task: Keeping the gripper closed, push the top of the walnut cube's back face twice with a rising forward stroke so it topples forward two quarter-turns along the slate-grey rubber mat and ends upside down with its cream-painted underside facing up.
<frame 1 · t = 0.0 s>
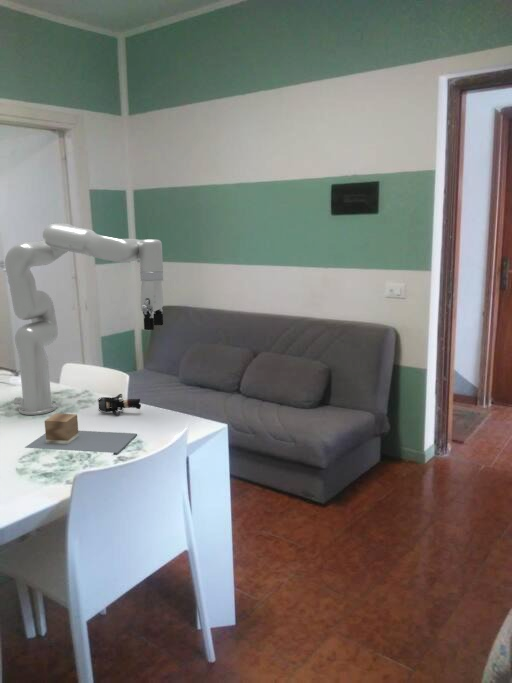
hand: (153, 327, 195), 31 cm above the table, fingers open, 9 cm apart
walnut cube: (62, 439, 177), point 1 cm above the table, touching slate mat
toy: (119, 414, 203), on the table
slate mat: (82, 442, 176), on the table
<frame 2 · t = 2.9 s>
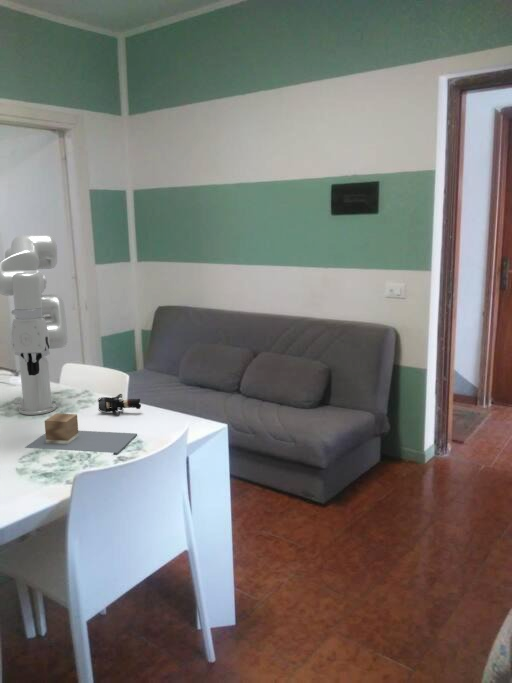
hand: (33, 374, 174), 21 cm above the table, fingers closed
nothing on the table moved.
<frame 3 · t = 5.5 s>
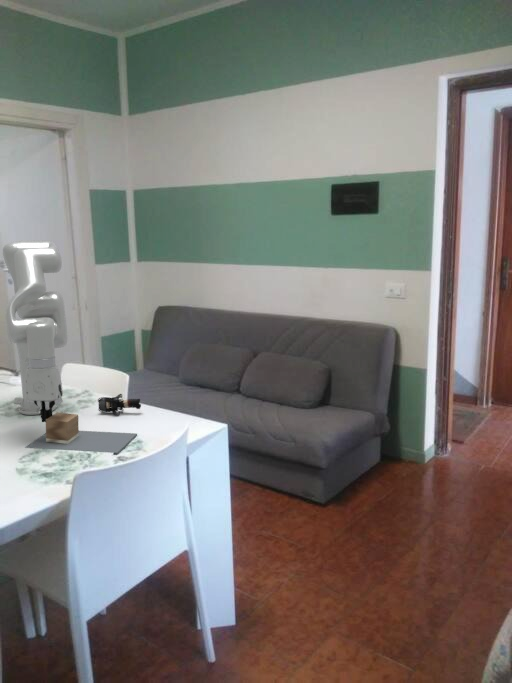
hand: (46, 420, 176), 6 cm above the table, fingers closed
walnut cube: (62, 438, 177), point 1 cm above the table, touching gripper, slate mat
everything else where it was.
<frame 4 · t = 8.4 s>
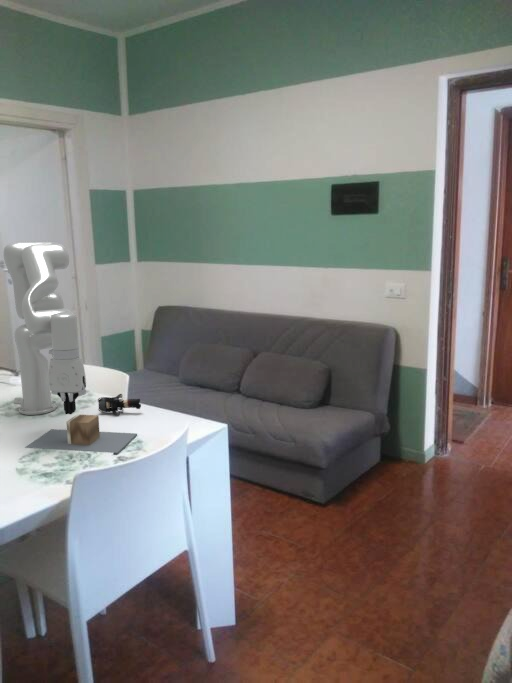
hand: (70, 412, 175), 9 cm above the table, fingers closed
walnut cube: (72, 428, 175), point 4 cm above the table, tilted 90°, touching slate mat
everything else where it was.
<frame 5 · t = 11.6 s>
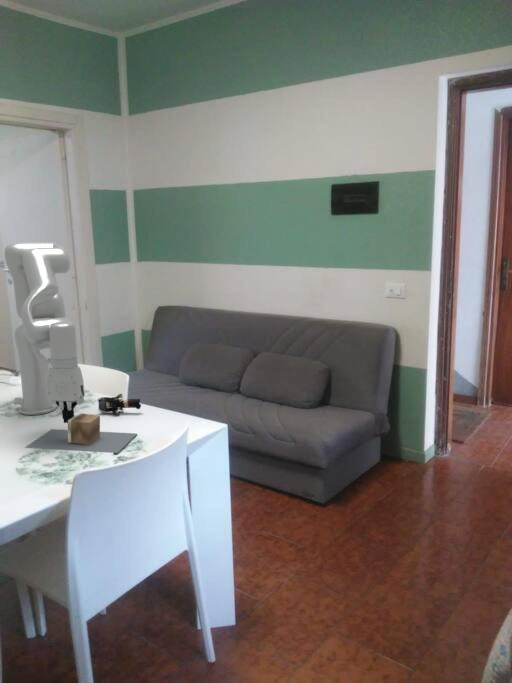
hand: (68, 421, 175), 6 cm above the table, fingers closed
walnut cube: (73, 427, 175), point 5 cm above the table, tilted 94°, touching gripper, slate mat
everything else where it was.
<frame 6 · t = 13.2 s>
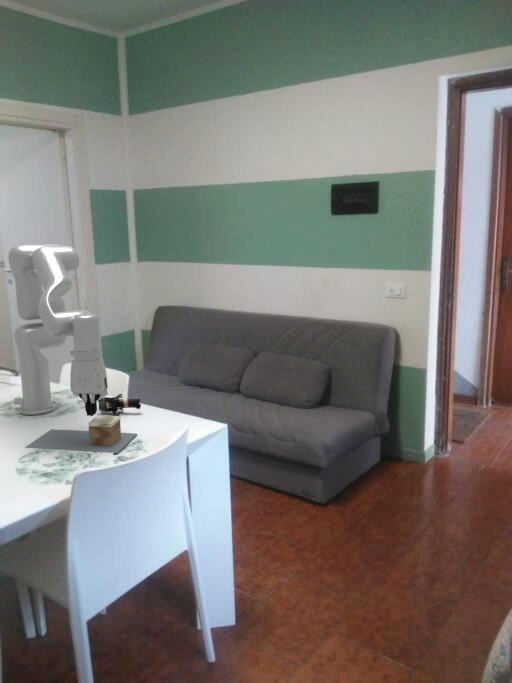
hand: (91, 414, 174), 9 cm above the table, fingers closed
walnut cube: (104, 419, 173), point 8 cm above the table, tilted 180°, touching slate mat
everything else where it was.
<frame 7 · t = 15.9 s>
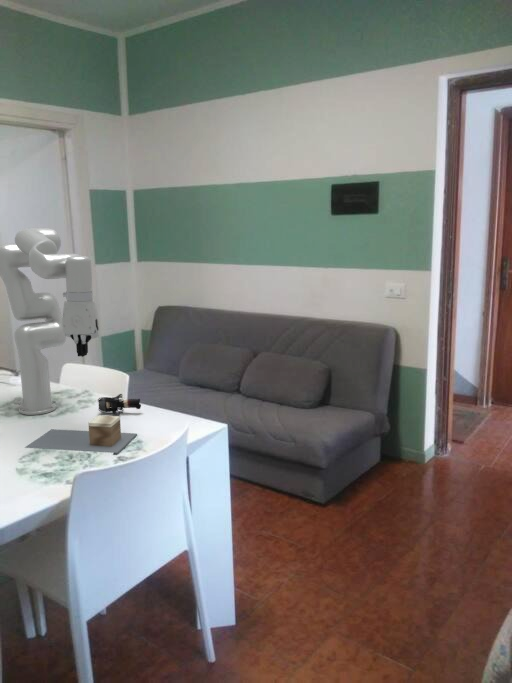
hand: (82, 355, 178), 26 cm above the table, fingers closed
nothing on the table moved.
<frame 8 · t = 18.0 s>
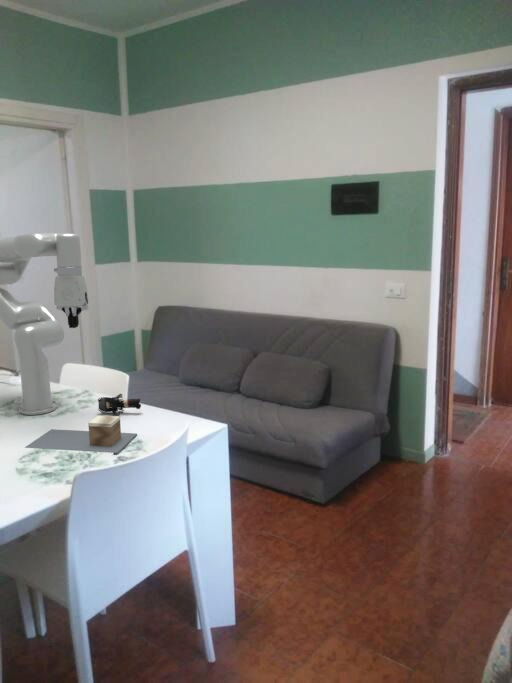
hand: (73, 327, 191), 32 cm above the table, fingers closed
nothing on the table moved.
at the end: walnut cube tilted 180°; walnut cube inside the target area (0.0 cm from its centre), point 7.6 cm above the table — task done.
